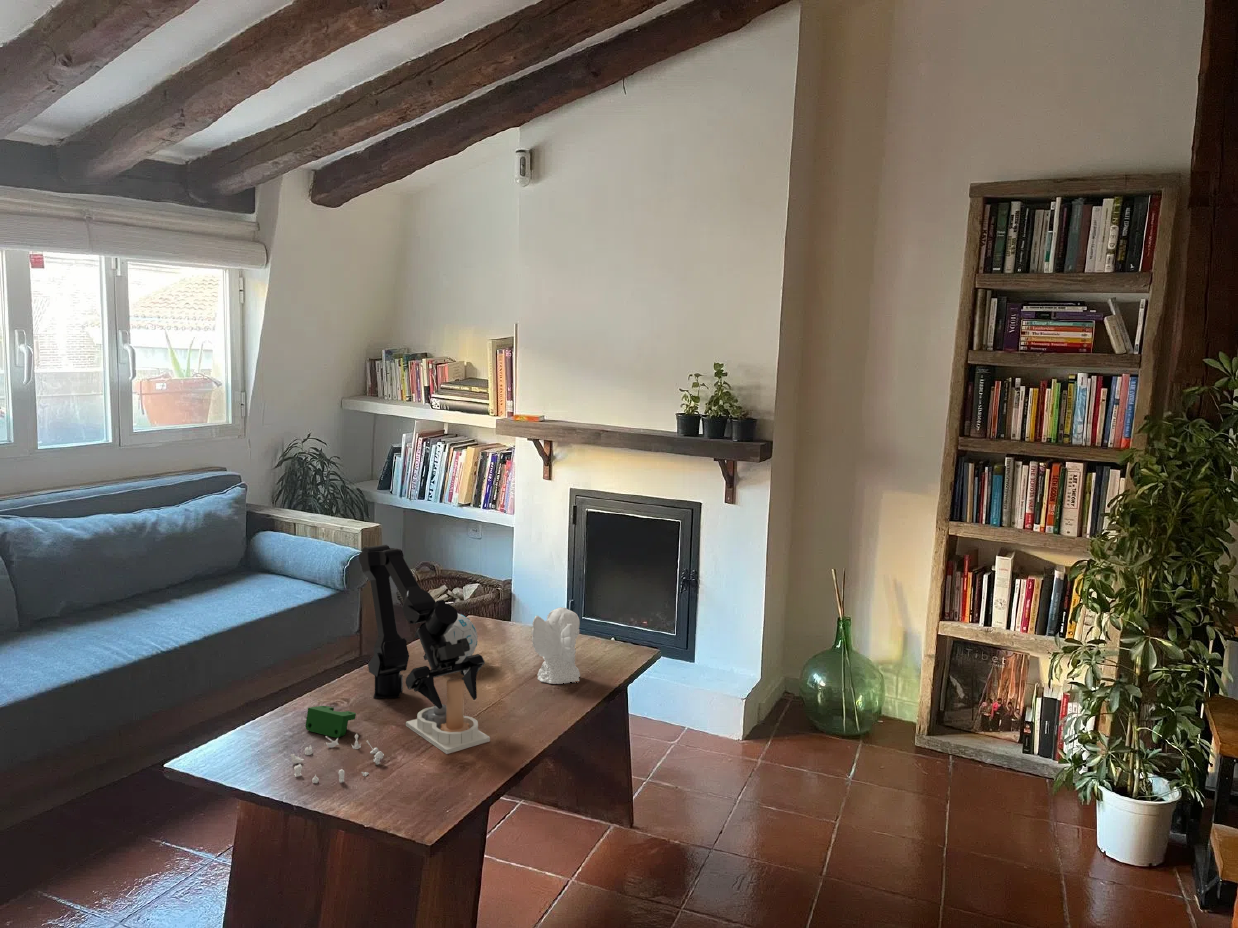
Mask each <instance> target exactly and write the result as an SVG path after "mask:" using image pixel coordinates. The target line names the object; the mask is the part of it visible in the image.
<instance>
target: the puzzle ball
mask: <svg viewBox="0 0 1238 928" xmlns="http://www.w3.org/2000/svg"><path fill="white" fill-rule="evenodd" d="M444 636H445V639H446V641H447V642H448V641H450V642H451V644H457V640H460V639H463V638H466V639H467V640H468V642H469V646H470V650H469V651H467V652H465V656H459V660H458V661H456V662H455V663H456V664H458V663H462V662H463V660H464V659H465V658H466V657H467V656H471V655H474V652H475V650H476V648H477V646H478V632H477V628H476V626H475V624H474V623H473V622H472V621H471V620H470V618H468V617H467V616H465V615H463V614H462V613H458V618H457V620H456V622H455V623H454V624H453V626H452V627H451V628H450V630H449V631H448V632H447V633H446V634H445V635H444Z"/></svg>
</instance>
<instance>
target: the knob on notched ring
mask: <svg viewBox="0 0 1238 928" xmlns="http://www.w3.org/2000/svg"><path fill="white" fill-rule="evenodd" d="M464 700H465V684H464V680H462V678H458V677H457V678H450V679H448V680H446V702H445V703H446V704H445V705H446V723H445V724H441V728H440V730H442V731H447V732H461V731H465V730H468V729H469V724H468V723H465V722H464V716H465V715H464V711H465V709H464V706H465V705H464V704H465V701H464Z"/></svg>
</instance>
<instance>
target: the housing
mask: <svg viewBox="0 0 1238 928" xmlns="http://www.w3.org/2000/svg"><path fill="white" fill-rule="evenodd" d="M416 716H417V717H416V718H415V719H411V720H408V721H406V722H405V727H407V728H409V729H410V730H411V731H412V732H414V733H415V734H417V735H419V736H420V737H421V738H422V739H424V740H425V741H427V742H429V743H430V744H431V745H433V746H434V747H435V748H437V749H438V750H440V751H441V752H443V753H444V754H446V755H449V754H451V753H455V752H458V751H462V750H465V749H468V748H471V747H472V748H473V747H475V746H478V745H482V744H486V743H488V742H491V736H489V735H488V734H486V733H484V732H483V731H481V730H480V729H479V723H478V722H479V721H478V720H477V719H476V718H475V717H472V716H467V715H464V722H465V723H468V724H469V729H468V730H465V731H461V732H447V731H442V730H440V728H441V724H445V723H446V704H443V703H442V708H441V709H439V708H438V707H437V706H435V705H433V706H431V707H430V706H429V707H426V708H423V709H422V710H420V711H419V712H417V715H416Z"/></svg>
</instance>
